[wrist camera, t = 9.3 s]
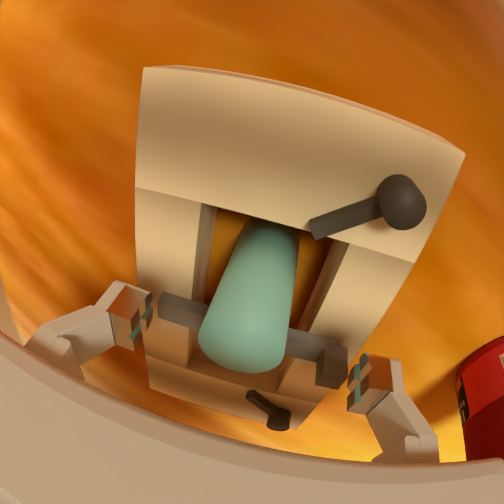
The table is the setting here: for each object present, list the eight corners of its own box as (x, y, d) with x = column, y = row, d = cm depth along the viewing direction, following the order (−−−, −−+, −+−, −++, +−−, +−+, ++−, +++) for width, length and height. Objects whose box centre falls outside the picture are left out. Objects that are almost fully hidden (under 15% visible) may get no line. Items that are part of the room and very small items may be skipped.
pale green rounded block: (306, 223, 15) (295, 332, 9) (290, 270, 17) (272, 380, 11) (246, 207, 15) (201, 306, 9) (236, 255, 17) (195, 359, 11)
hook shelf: (300, 399, 24) (292, 453, 20) (162, 360, 24) (139, 410, 20) (438, 135, 11) (493, 174, 7) (177, 65, 12) (109, 71, 7)
